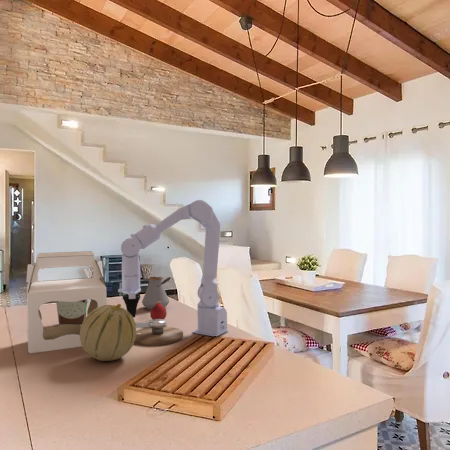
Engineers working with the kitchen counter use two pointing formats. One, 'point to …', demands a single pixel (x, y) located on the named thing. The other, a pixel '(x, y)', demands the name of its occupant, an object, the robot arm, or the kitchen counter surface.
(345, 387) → the kitchen counter surface
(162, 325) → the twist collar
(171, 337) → the base
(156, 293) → the coffee pot
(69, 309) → the food container
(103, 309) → the cantaloupe
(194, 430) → the kitchen counter surface
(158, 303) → the onion
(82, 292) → the gable box
